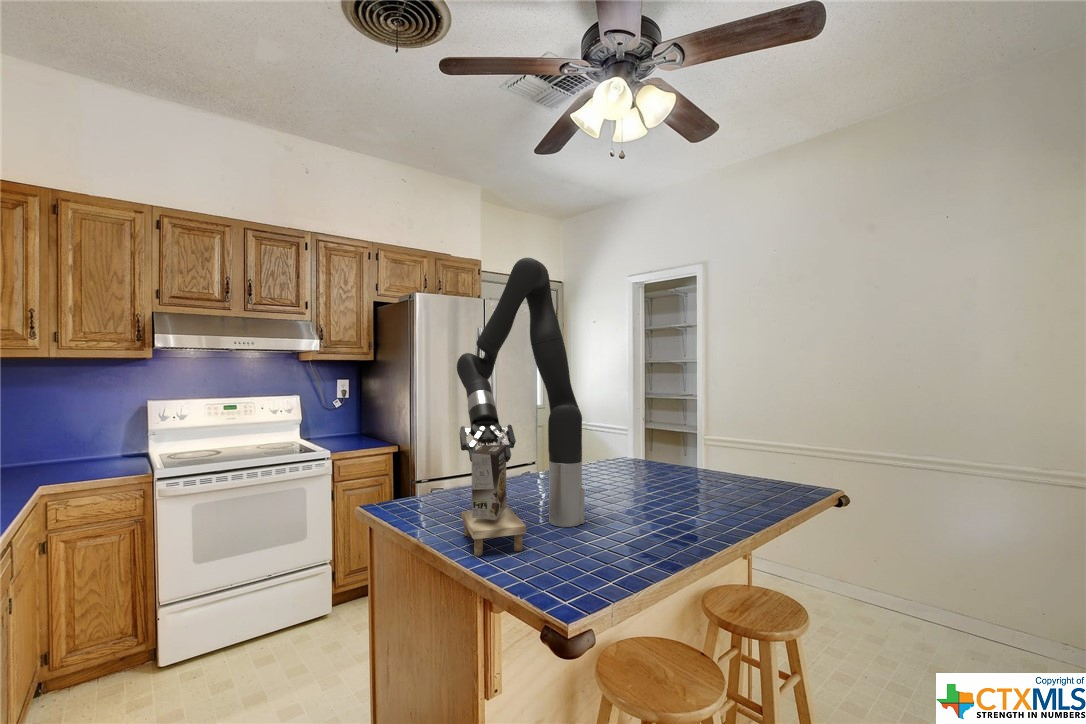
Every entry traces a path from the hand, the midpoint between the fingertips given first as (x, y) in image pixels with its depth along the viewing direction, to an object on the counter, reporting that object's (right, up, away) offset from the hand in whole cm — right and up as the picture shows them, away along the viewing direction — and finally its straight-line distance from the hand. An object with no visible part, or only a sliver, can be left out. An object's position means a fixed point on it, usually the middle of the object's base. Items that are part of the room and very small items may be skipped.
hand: (491, 461), depth 126 cm
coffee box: (0, -13, -1) cm, 13 cm away
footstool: (0, -20, -1) cm, 20 cm away
